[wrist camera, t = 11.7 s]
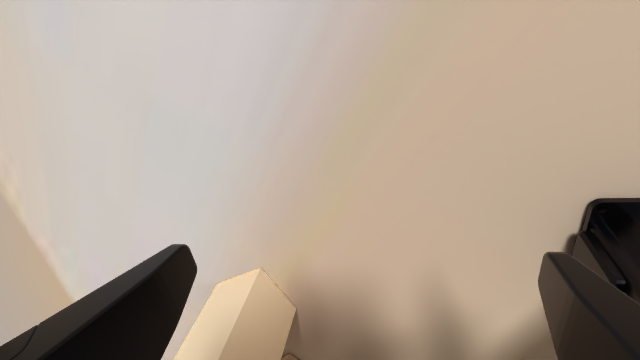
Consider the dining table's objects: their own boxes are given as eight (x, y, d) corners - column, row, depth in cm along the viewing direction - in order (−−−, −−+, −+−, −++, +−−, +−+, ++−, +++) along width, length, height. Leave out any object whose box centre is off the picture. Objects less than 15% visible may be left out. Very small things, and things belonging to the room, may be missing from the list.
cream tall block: (260, 267, 29) (194, 411, 20) (296, 308, 31) (250, 458, 21) (217, 283, 31) (138, 420, 22) (253, 321, 33) (194, 462, 23)
